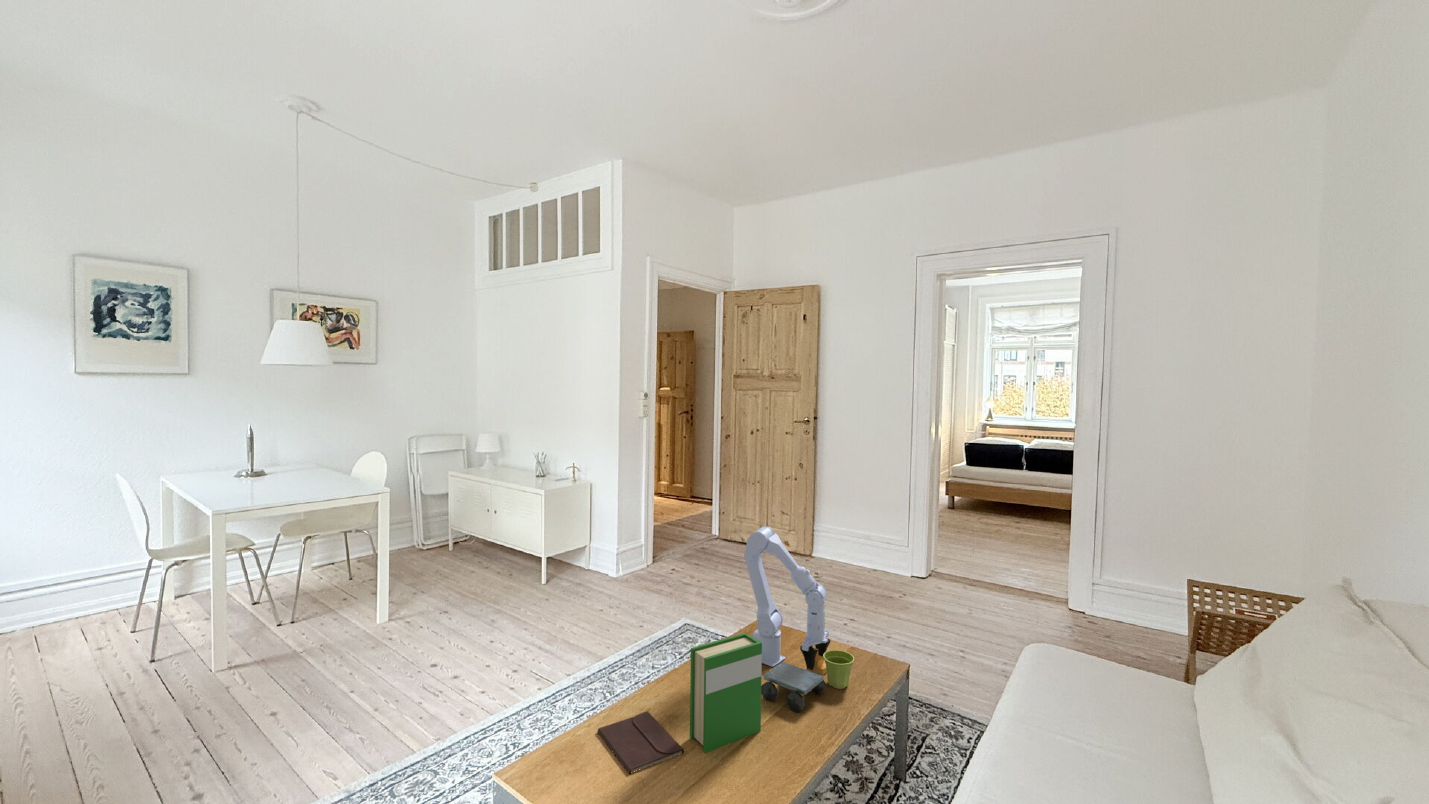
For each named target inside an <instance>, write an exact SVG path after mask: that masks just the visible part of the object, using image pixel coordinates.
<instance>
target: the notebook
mask: <svg viewBox="0 0 1429 804" xmlns="http://www.w3.org/2000/svg"><path fill="white" fill-rule="evenodd" d="M597 734H598V735H599V736H600V737H602V738H601V739H602V740H603V742H604V741H605V742H604V743H605V744H606V746H607V745H608V746H609V747H608V746H607V747H608V749H609V750H610V749H611V750H612V751H613V752H612V751H611V750H610V751H611V752H612V754H613V753H614V754H615V755H616V756H615V755H614V754H613V755H614V756H615V757H617V758H618V759H619V760H620V762H621V763H622V764H621V763H620V762H619V763H620V764H621V766H622V765H623V766H624V767H625V768H624V767H623V766H622V767H623V768H624V769H626V770H627V771H626V770H625V771H626V773H628V772H629V773H630V772H634V771H636V770H639V769H642V770H644V769H643V768H645V767H647V766H650V767H652V766H654V765H653V764H655V765H657V764H656V763H658V764H660V763H662V762H664V761H667V759H668V760H670V759H669V758H671V757H673V758H675V756H676V757H678V756H680V755H679V754H681V755H683V754H685V750H684V748H683V747H682V745H680V744H679V743H678V742H677V740H675V738H674V737H673V736H671V735H670V733H669V732H668V731H667V730H666V729H665V728H664V726H662V725H661V723H660V722H658V720H657V719H655V717H653V715H652V714H651V713H650V712H649V711H647V710H646V711H644V712H641V713H638V714H636V715H635V716H632V717H629V718H626V719H622V720H620V721H616V722H614V723H611V724H607V725H604V726H601V727H599V728H598V729H597ZM677 755H678V756H677ZM617 758H616V759H617ZM618 759H617V760H618ZM671 759H672V758H671ZM619 760H618V761H619ZM659 762H660V763H659ZM651 765H652V766H651ZM647 768H648V767H647ZM645 769H646V768H645ZM639 771H640V770H639ZM634 773H635V772H634Z"/></svg>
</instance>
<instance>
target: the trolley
mask: <svg viewBox="0 0 1429 804" xmlns="http://www.w3.org/2000/svg"><path fill="white" fill-rule="evenodd" d="M763 680H765V681H766V682H764V683H763V684H761V697H762V698H763V699H764V700H765V701H767V702H773V701H774V700H775V699H777V697H778V689H777V686H776V685H778V686H780V687H782V688H785V689H788V690H790V691H792V692H791V693H789V695H787V697H786V703H787V706H788V708H789V709H790V710H791V711H792V712H794V713H799V712H801V711H802V710H803V709H804V708H805V705H806V702H805V699H804V696H805V695H807V694H808V693H809V692H812V693H814V694H815V695H820V694H822V693H823V692H824V691H825V690H826V686H827V685H826V682H825V680H824V675H821V674H818V673H815V672H812V671H809V670H807V669H805V668H802V667H799V666H796V665H793V664H791V663H787V662H785V661H781V662H780V663H778V664H777V665H775V666H774V667H773V668H771V670H769V671H767V672H766V673H765V674H763ZM803 695H804V696H803Z"/></svg>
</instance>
